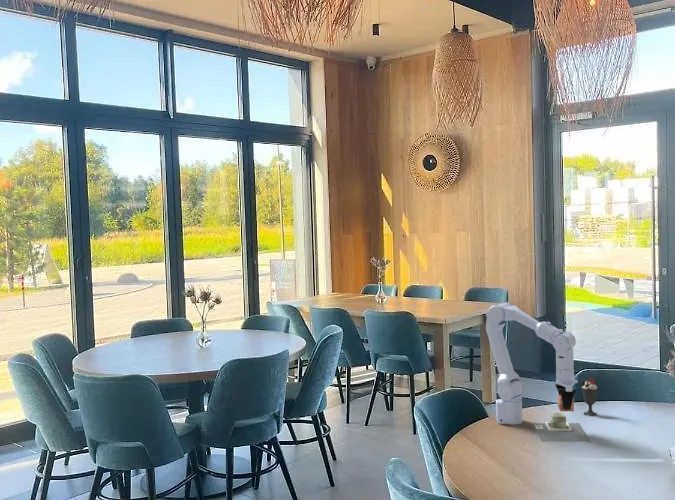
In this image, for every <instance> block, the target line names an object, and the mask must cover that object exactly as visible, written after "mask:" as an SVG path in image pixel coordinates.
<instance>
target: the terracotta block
mask: <svg viewBox="0 0 675 500" xmlns="http://www.w3.org/2000/svg"><path fill="white" fill-rule="evenodd" d="M557 408H558V409H559V411H560V412H575V398H574V397H573V400H572V405H571V409H564V407H563V403H562V398H561V395H559V394H557Z"/></svg>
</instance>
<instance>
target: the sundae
mask: <svg viewBox="0 0 675 500" xmlns="http://www.w3.org/2000/svg"><path fill="white" fill-rule="evenodd" d="M595 377H596V375H593V376H592V377H591V378H589V379H588V380H586V381H584V380H582V385H581V386H580V389H581V390H582V394H583V396H582V397H583V400H584V403H585V404H586V405H588V410H587V411H585V412H583V415H585V416H587V415H589V417H596V416H598V412H594V410H593V405H594V404H595V403H596V401H597V394H598V391H599V389H600V387H599V386H597V384H596V383H595V381H594V378H595ZM595 415H596V416H595Z"/></svg>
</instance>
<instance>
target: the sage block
mask: <svg viewBox="0 0 675 500" xmlns="http://www.w3.org/2000/svg"><path fill="white" fill-rule="evenodd" d="M549 414H550V422H551V427H552V428H554V429H566V422H567V416H566V414H565V412H550V413H549Z"/></svg>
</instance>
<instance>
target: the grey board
mask: <svg viewBox="0 0 675 500" xmlns="http://www.w3.org/2000/svg"><path fill="white" fill-rule="evenodd" d="M532 424H533V426H534V429H535V431H536V432H537V435H538V437H539V439H540V441H541V442H561V443H562V442H568V443H569V442H570V443H571V442H581V443H583V442H584V443H587V442H588V443H589V442H590V443H591V442H592V439H590V437H589V436H588V434H587V433H586V431H585V429H584V428H583V427H582V426H581V424H580V423H579V422H578V423H577V422H567V421H566V429H554V428H552V427H551V421H550V422H549V421H548V422H547V421H545V422H532Z"/></svg>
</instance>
